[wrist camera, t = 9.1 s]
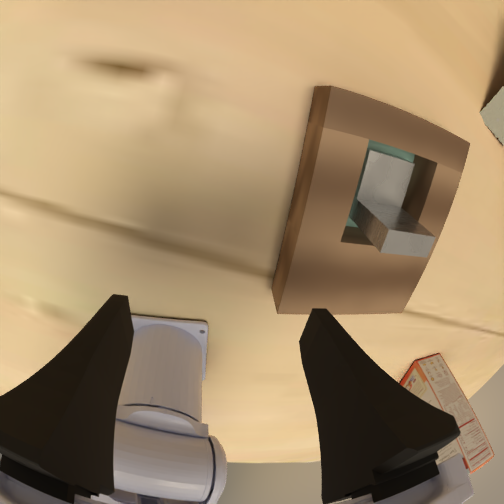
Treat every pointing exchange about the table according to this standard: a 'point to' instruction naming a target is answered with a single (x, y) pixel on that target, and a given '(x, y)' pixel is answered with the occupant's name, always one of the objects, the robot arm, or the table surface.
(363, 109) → the well block
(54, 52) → the table surface
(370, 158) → the grey block
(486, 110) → the grey slanted stand
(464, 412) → the cracker box
